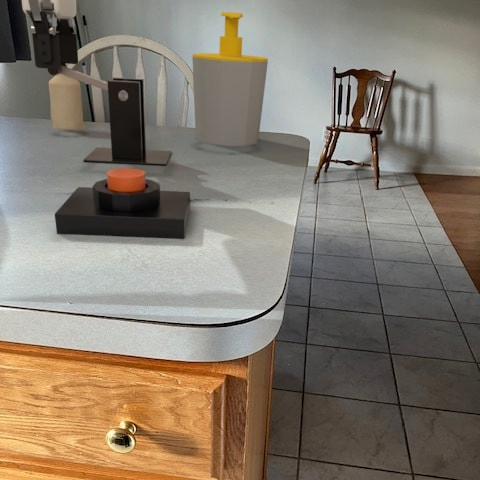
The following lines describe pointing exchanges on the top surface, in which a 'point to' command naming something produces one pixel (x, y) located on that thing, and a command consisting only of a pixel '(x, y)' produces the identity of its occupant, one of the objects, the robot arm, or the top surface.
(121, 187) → the button
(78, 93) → the candle
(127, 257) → the top surface
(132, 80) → the switch bracket
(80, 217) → the control block
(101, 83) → the switch lever
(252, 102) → the soap bottle
